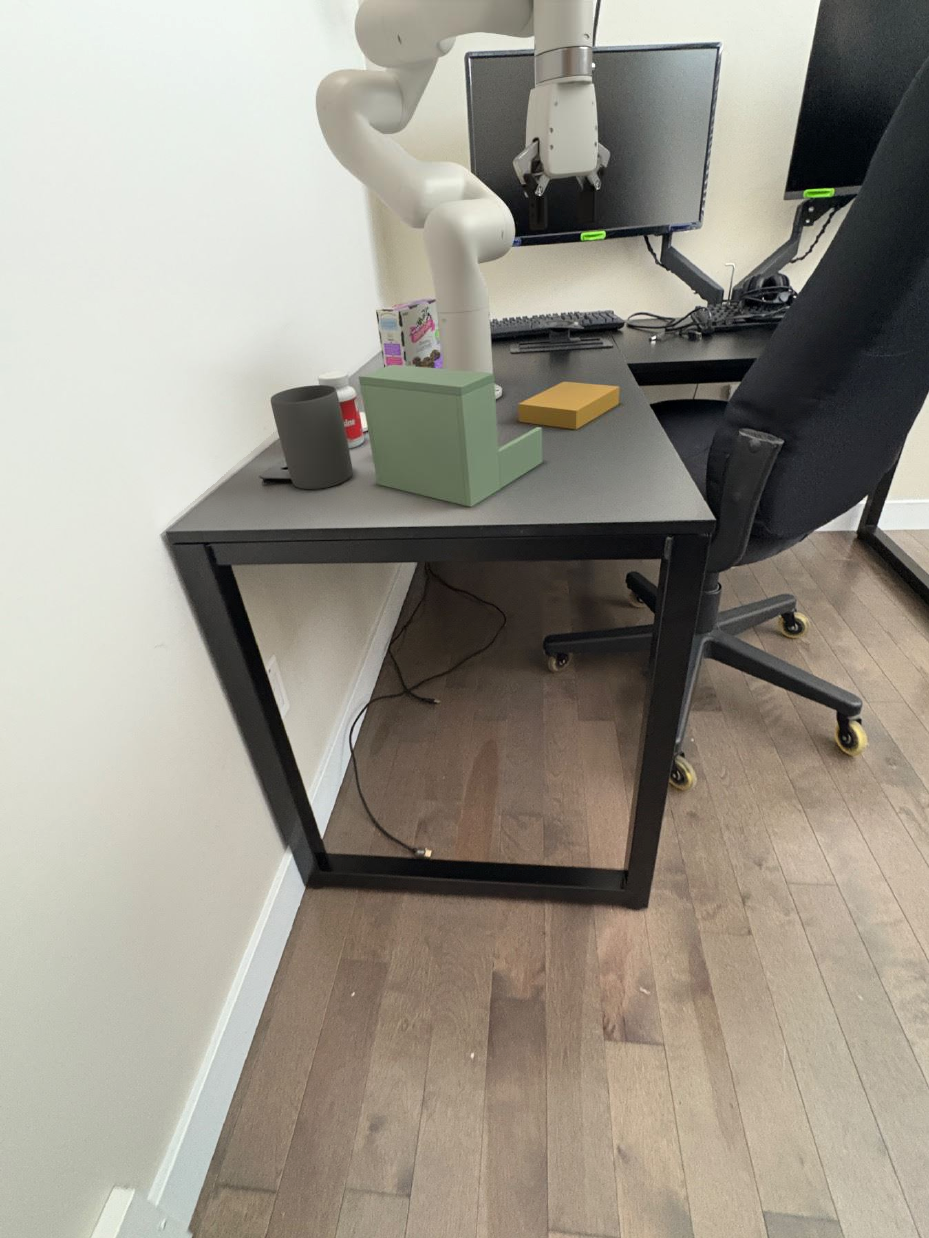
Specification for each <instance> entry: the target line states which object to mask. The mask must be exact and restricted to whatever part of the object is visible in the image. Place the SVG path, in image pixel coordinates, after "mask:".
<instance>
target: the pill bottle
mask: <svg viewBox="0 0 929 1238" xmlns="http://www.w3.org/2000/svg"><path fill="white" fill-rule="evenodd" d="M348 374H349V373H348V372H347V371H341V370H340V371H339V370H337V371H329V372H325V373H321V374H319V375H318V376H317V381H318V385H327V386H332V387H334V388H335V389H336V391H337V394H338V399H339V403H340V407H341V412H342V416H343V421H344V426H345V431H346V436H347V441H348V446H349V450H350V449H354V448H357V447H359V446H361V445H362V444H363V443H364V441H365V437H364V432H363V430H362V424H361V418H360V412H361V411H360V408H359V401H358V396H357V392H356V390H355V389H354V388H353V387H352V386H351V385H349V384H350V378H349V375H348Z"/></svg>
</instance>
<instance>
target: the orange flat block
mask: <svg viewBox="0 0 929 1238" xmlns="http://www.w3.org/2000/svg"><path fill="white" fill-rule="evenodd" d="M619 402H620V386H618V385H608V384H607V385H606V384H595V383H585V382H584V383H583V382H574V381H573V382H572V381H562V382H560V383H558V384H556V385H554V386H552V387H550V388H548V389H546V390H543V391H541V392H539V393H538V394H535V395H534V396H531V397H529V398H528V399H525V400H523V401H521V402H519V403H517V406H518V407H517V408H518V409H517V410H518V422H519V423H525V424H531V425H541V426H548V427H554V428H563V429H570V430H578V429H579V428H581V427H583V426H585V425H586V424H588V423H590V422H591V421H593V420H595V419H596V418H598V417H599V416H601V415H603V414H604V413H606V412H608V411H609V410H611V409H612V408H614V407H616V406H618V405H620V404H619Z"/></svg>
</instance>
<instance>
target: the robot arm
mask: <svg viewBox="0 0 929 1238" xmlns="http://www.w3.org/2000/svg"><path fill="white" fill-rule="evenodd" d="M593 32H594V0H363V2H362V3H361V4H360V5H359V8H358V9H357V12H356V14H355V19H354V35H355V39H356V42H357V45H358V47H359V49H360V51H361V53H362V54H363V55H364V57H365V58H366V59H367V60H368V61H369V62H371V63H372V64H374V65H376V66H378V67H381V68H385V71H383V70H372V69H371V70H370V69H369V70H368V69H358V68H357V69H355V68H353V69H352V68H345V69H339V70H335V71H332V72H330V73H328V74H327V75H325V77H323V78H322V80H321V81H320V82H319V84H318V86H317V89H316V93H315V109H316V116H317V117H316V118H317V121H318V125H319V128H320V131H321V134H322V136H323V139H324V141H325V143H326V145H327V147H328V148H329V150H330V152H331V154H332V155H333V156H334V158H335V159H336V160H337V162H338V163H340V165H341V166H342V167H343V168H344V169H345V170H347V171H348V173H350V174H351V175H352V176H353V177H354V178H356V179H357V180H358V181H359V182H360V183H361V184H363V185H364V186H365V187H367V189H368V190H370V191H371V193H373V195H374V196H375V197H376V198H377V199H378V200H379V201H380V202H382V203H383V205H385V206H386V207H387V208H388V209H389V210H390V211H391V212H392V213H393V214H394V215H395V216H396V217H397V218H398V219H399V220H401V222H403V223H404V224H405V225H407V226H408V227H410V228H412V229H418V230H419V229H423V231H422V239H423V240H422V241H423V247H424V250H425V253H426V258H427V261H428V265H429V268H430V273H431V279H432V283H433V290H434V299H436V309H437V317H438V327H439V337H440V346H441V356H442V366H443V369H450V370H461V371H473V372H484V373H494V368H493V350H492V349H493V348H492V332H491V315H490V313H491V312H490V301H489V300H490V299H489V290H488V287H487V282H486V280H485V278H484V275H483V273H482V270H481V268H480V265H479V264H484V263H489V262H493V261H496V260H499V259H501V258H503V257H504V256H506V254H508V252H509V251H510V250H511V248H512V246H513V244H514V241H515V237H516V226H515V221H514V217H513V214H512V212H511V210H510V208H509V206H507V205H506V203H505V202H504V201H503V200H502V199H501V198H500V197H499V196H498V195H497V194H496V193H495V192H494V191H492V189H490V187H488V186H487V185H486V184H485V183H484V182H483V181H482V180H480V178H478V177H477V176H476V175H475V174H474V173H472V172H471V171H470V170H469V169H468V168H466V167H465V166H463V165H462V164H459V163H457V162H454V161H447V160H446V161H445V160H443V161H442V160H441V161H427V160H426V161H425V160H419V159H417V158H415V157H414V156H413V155H412V154H410V153H409V152H408V151H406V149H404V148H403V147H402V146H401V145H400V143H398V142H397V141H395V140H394V139H392V137H389V136H387V135H394V134H398V133H400V132H401V131H403V130H404V129H405V128H407V126H408V124H409V123H410V122H411V120H412V118H413V117H414V115H415V113H416V110H417V108H418V106H419V104H420V101H421V100H422V97H423V95H424V93H425V91H426V89H427V86H428V85H429V82H430V80H431V78H432V76H433V74H434V71H435V69H436V66H437V63H438V61H439V58H443V57H445V56H447V55H448V54H449V53H450V51H452V50H453V47H454V45H455V43H456V40H457V37H459V36H464V35H468V34H475V33H485V34H495V35H501V36H507V37H514V38H521V39H527V38H532V37H533V44H534V48H533V49H534V87H533V88H531V89H530V92H529V98H528V104H527V113H526V126H525V148H524V149H523V150H522V151H521V152H519V154H518V155H516V156H515V158H514V159H513V160H512V165H513V168H514V171H515V175H516V176H517V177H518V178H517V181H518V184H519V186H520V187H521V188H522V190H523V191H524V196H525V197H526V198H528V213H529V215H528V217H529V229H530V231H544V230H547V228H548V197H547V195H544V193H545V191H546V188H547V186H548V184H549V182H550V180H557V179H566V178H572V177H575V178H576V180H577V182H578V184H579V186H580V188H581V189H582V191H579V192H578V223H579V224H593V223H596V222H597V214H598V213H597V211H598V208H597V207H598V190H600V189H601V186H602V181H603V179H604V177H606V172H607V167H608V164H609V160H610V157H611V152H610V151H609V150H608V149H607V148H606V147H605V146H604V145H603V144H601V143H600V142H599V131H598V129H599V128H598V126H599V125H598V110H597V108H598V107H597V99H596V90H595V84H594V83H593V75H594V73H595V70H596V64H595V62H594V61H593V43H594V42H593V40H594V35H593V34H594V33H593ZM502 395H503V388H502V387H501V386H500V385H498V384H496V383H495V400H497V399H499V398H500V397H502Z"/></svg>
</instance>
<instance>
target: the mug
mask: <svg viewBox="0 0 929 1238" xmlns="http://www.w3.org/2000/svg"><path fill="white" fill-rule="evenodd" d="M270 405H271V410H272V415H273V418H274V422H275V426H276V429H277V430H276V431H277V433H278V434H277V435H278V437H279V442H280V445H281V449H282V452H283V456H284V461H285V463H286V467H287V470H288V474H289V477H290V480H291V482H292V484H293V485H294V487H296V488H298V489H304V490H321V489H327V488H331V487H334V486H338V485H340V484H342V483H344V482H346V481H348V480H349V479H350V478H351V477H352V476H353V463H352V458H351V452H350V449H349V446H348V441H347V436H346V431H345V426H344V421H343V416H342V412H341V407H340V403H339V399H338V394H337V391H336V389H335V388H334V387H332V386H327V385H319V384H313V385H303V386H297V387H293V388H289V389H285V390H282V391H279V392H277V393H275V394H273V395H272V396H271V397H270Z"/></svg>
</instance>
